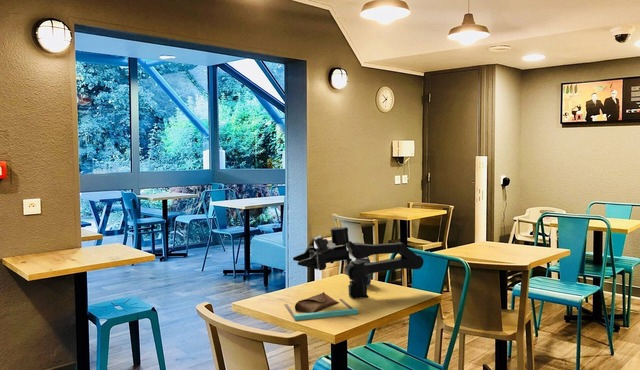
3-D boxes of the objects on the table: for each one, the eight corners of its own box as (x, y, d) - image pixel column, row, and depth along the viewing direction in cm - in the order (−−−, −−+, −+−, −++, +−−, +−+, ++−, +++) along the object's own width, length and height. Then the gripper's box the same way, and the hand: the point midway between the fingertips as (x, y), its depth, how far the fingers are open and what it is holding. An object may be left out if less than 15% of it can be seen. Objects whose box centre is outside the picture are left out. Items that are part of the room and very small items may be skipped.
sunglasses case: (313, 314, 193) (305, 297, 194) (300, 321, 196) (292, 304, 198) (340, 302, 207) (333, 286, 209) (328, 309, 211) (320, 293, 213)
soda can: (370, 286, 230) (369, 259, 230) (354, 286, 232) (353, 259, 231) (371, 283, 237) (371, 256, 236) (356, 282, 238) (355, 256, 238)
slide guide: (342, 299, 211) (341, 295, 211) (358, 313, 191) (358, 309, 191) (284, 305, 206) (284, 301, 206) (295, 320, 186) (295, 316, 186)
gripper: (325, 231, 220) (288, 237, 217) (337, 238, 202) (297, 244, 199) (328, 257, 221) (291, 264, 218) (341, 267, 203) (301, 274, 200)
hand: (295, 261), depth 208 cm, fingers open, 9 cm apart
